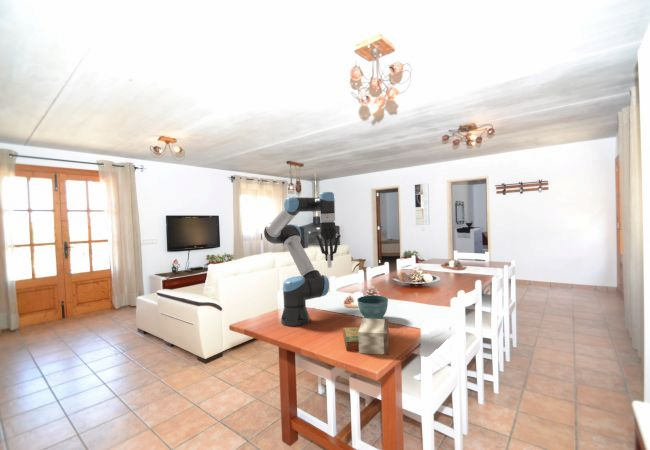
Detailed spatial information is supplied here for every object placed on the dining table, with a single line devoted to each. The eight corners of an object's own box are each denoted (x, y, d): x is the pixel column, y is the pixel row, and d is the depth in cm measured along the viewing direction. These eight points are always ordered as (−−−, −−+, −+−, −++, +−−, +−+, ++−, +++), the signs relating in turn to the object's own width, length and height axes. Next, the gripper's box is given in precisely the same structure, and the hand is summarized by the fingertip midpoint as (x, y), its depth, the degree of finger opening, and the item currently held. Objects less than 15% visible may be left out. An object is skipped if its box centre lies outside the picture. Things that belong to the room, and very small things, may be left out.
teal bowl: (380, 326, 149) (379, 305, 149) (352, 321, 159) (351, 300, 159) (393, 317, 162) (393, 297, 162) (367, 312, 172) (366, 294, 172)
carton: (360, 335, 140) (360, 326, 140) (366, 350, 124) (366, 340, 124) (342, 336, 140) (342, 327, 140) (346, 351, 124) (346, 341, 124)
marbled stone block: (359, 352, 121) (358, 332, 121) (363, 336, 138) (362, 318, 138) (388, 354, 119) (387, 333, 119) (388, 337, 135) (388, 319, 135)
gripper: (314, 222, 154) (315, 268, 155) (339, 221, 151) (340, 268, 152) (317, 222, 162) (319, 265, 162) (341, 221, 159) (343, 265, 159)
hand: (329, 267), depth 157 cm, fingers closed
